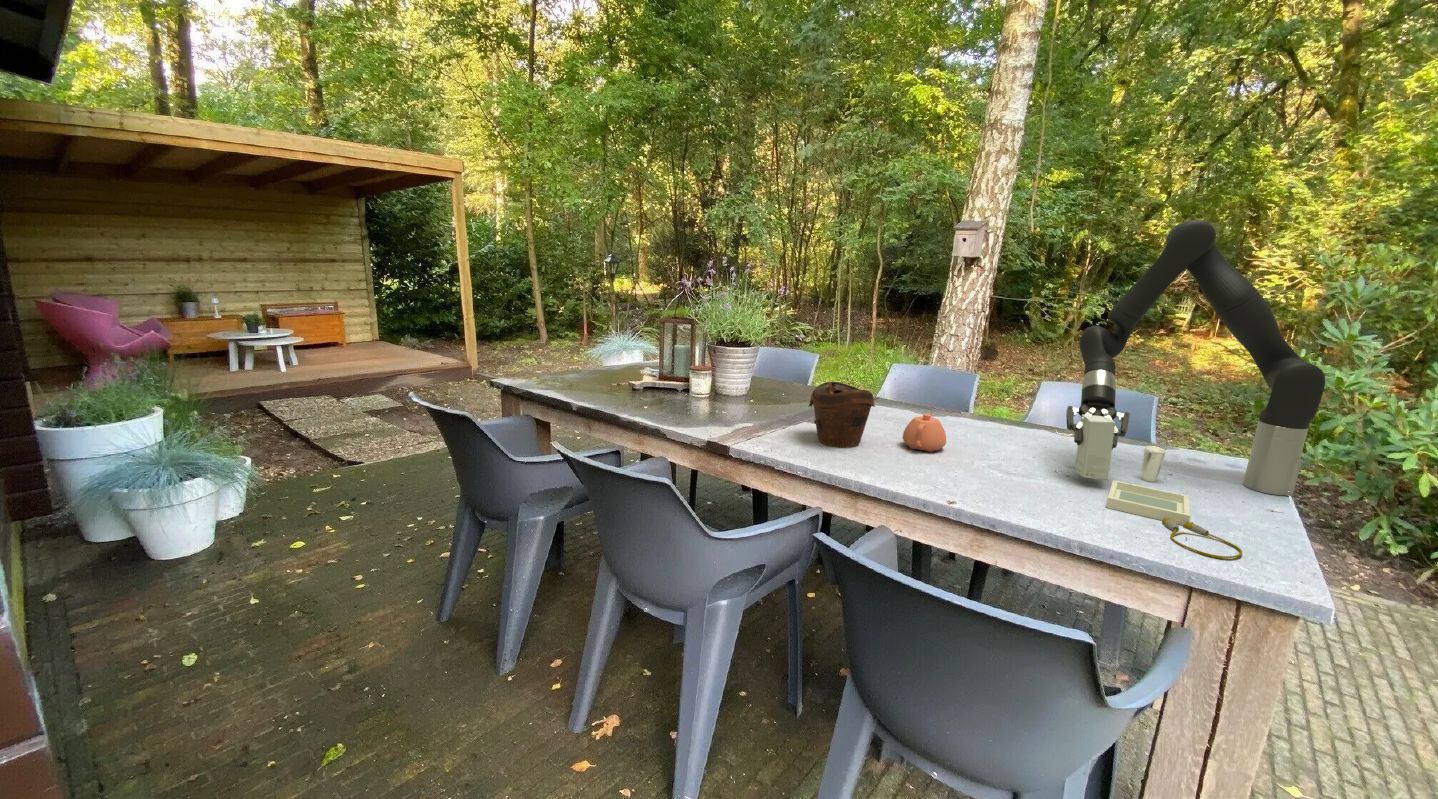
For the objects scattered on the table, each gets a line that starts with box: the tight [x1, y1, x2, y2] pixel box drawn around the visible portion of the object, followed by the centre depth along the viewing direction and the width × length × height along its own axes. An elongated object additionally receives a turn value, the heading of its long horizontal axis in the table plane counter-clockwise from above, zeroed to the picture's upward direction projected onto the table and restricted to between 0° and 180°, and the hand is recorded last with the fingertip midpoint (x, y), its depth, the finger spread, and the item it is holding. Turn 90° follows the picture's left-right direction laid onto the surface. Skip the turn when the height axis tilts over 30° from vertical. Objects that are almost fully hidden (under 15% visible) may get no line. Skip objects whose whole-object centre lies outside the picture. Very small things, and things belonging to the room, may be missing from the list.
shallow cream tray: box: [1105, 479, 1191, 526], centre depth 139 cm, size 15×15×2 cm
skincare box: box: [1074, 415, 1117, 481], centre depth 151 cm, size 8×6×15 cm
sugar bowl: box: [902, 413, 947, 453], centre depth 176 cm, size 12×14×10 cm
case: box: [808, 381, 875, 448], centre depth 179 cm, size 18×20×18 cm
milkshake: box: [1140, 443, 1171, 483], centre depth 156 cm, size 5×5×10 cm
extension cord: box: [1161, 518, 1243, 561], centre depth 121 cm, size 12×16×2 cm
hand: (1095, 445), depth 150 cm, fingers closed on skincare box, 6 cm apart
